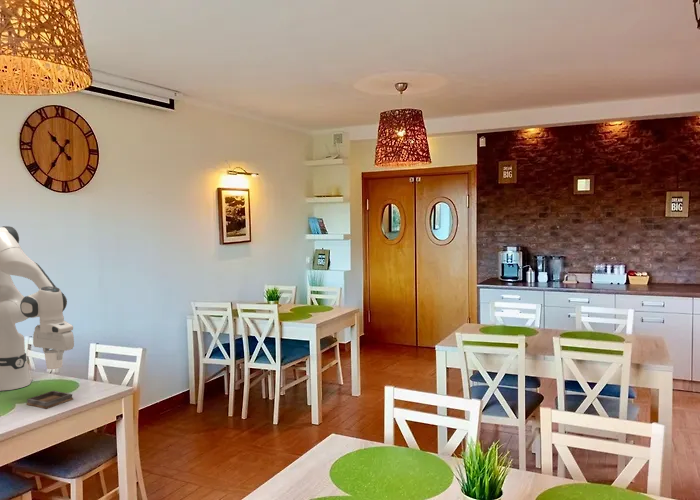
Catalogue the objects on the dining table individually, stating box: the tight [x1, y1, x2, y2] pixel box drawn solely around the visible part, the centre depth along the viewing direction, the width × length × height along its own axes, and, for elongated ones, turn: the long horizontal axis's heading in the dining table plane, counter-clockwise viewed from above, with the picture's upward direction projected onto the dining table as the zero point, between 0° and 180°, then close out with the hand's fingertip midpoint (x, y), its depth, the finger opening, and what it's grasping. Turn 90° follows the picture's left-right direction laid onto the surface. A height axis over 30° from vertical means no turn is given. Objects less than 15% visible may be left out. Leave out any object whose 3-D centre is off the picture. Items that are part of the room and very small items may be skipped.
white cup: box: [43, 349, 64, 370], centre depth 226 cm, size 7×7×7 cm
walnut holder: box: [26, 390, 74, 410], centre depth 225 cm, size 12×12×2 cm
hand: (53, 359), depth 226 cm, fingers closed on white cup, 5 cm apart
